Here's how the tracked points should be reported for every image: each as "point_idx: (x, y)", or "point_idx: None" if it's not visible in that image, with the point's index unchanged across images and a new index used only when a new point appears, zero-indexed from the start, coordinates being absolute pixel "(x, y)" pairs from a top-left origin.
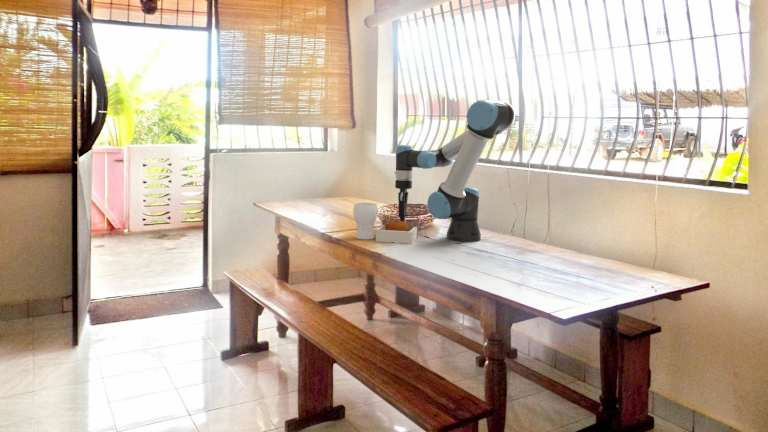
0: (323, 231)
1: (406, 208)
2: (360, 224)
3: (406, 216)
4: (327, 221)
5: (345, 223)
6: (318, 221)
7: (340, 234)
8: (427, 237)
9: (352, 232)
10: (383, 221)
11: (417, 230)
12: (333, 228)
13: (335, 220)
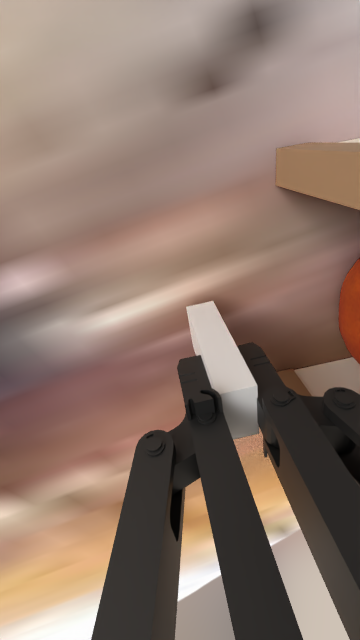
0: (271, 545)
1: (165, 525)
2: None
3: (210, 395)
4: (72, 614)
5: (65, 582)
6: (93, 621)
7: None
8: (260, 25)
9: (254, 494)
10: None
11: (345, 144)
12: (198, 555)
13: (30, 616)
